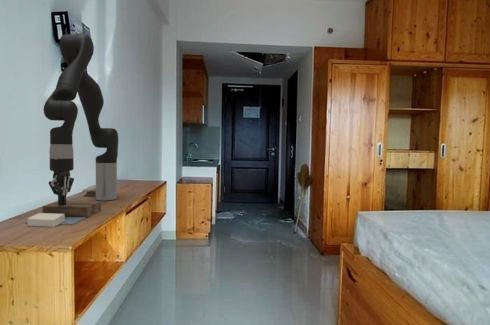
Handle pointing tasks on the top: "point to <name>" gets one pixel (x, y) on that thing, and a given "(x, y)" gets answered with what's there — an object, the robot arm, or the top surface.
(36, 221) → the cream thick tile
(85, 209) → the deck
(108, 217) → the top surface
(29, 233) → the top surface
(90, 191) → the packaged product
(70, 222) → the mat
